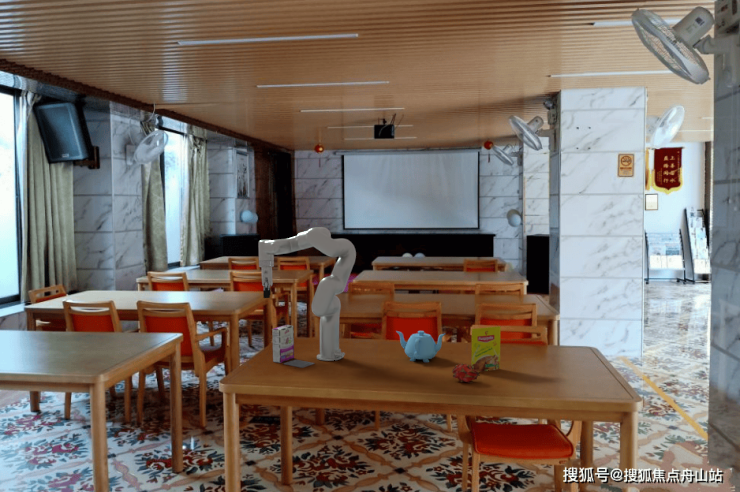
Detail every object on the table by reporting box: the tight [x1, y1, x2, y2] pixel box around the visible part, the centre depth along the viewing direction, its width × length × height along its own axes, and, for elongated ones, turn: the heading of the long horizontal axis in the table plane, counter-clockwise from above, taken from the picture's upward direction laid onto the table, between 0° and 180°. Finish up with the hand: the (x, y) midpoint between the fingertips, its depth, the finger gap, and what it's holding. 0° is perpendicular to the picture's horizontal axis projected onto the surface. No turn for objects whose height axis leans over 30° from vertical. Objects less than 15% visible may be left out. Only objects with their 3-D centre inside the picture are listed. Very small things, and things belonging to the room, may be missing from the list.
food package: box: [470, 326, 502, 373], centre depth 271 cm, size 15×1×20 cm, turn 112°
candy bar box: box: [271, 324, 295, 364], centre depth 289 cm, size 11×5×16 cm, turn 150°
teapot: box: [395, 330, 446, 363], centre depth 291 cm, size 16×20×14 cm
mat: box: [282, 359, 315, 369], centre depth 283 cm, size 12×9×1 cm
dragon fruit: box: [451, 363, 481, 384], centre depth 254 cm, size 8×8×12 cm
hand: (267, 296), depth 307 cm, fingers open, 9 cm apart
